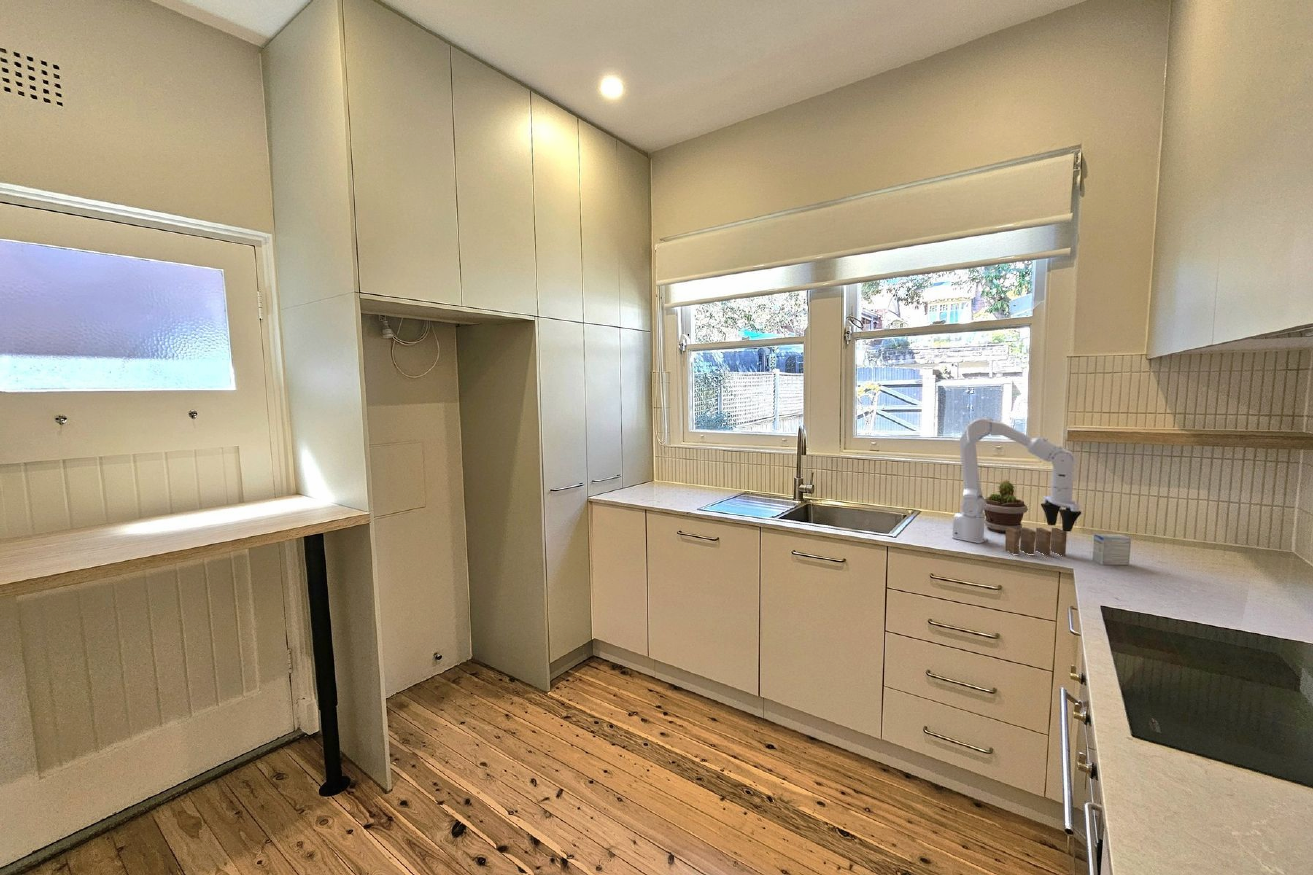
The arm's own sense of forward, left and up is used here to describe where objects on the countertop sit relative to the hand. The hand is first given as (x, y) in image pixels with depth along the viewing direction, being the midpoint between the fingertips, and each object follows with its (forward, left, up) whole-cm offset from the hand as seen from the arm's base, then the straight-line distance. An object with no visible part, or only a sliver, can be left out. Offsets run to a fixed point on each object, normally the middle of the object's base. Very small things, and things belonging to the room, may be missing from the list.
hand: (1059, 528), depth 175 cm
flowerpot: (-22, +19, -9) cm, 30 cm away
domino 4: (0, 0, -9) cm, 9 cm away
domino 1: (-10, -10, -9) cm, 17 cm away
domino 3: (-3, -3, -9) cm, 10 cm away
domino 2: (-7, -7, -9) cm, 13 cm away
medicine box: (+13, +1, -9) cm, 16 cm away
